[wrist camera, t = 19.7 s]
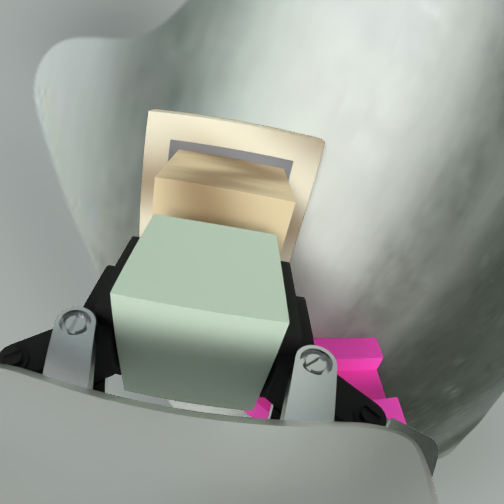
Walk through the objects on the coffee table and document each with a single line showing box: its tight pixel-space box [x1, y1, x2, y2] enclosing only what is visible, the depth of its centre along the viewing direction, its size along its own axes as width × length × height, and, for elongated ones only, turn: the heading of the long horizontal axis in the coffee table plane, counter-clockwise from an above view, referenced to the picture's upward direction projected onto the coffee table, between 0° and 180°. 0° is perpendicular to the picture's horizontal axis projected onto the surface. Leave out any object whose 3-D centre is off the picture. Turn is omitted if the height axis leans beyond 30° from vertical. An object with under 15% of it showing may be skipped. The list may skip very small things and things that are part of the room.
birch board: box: [139, 109, 325, 262], centre depth 19 cm, size 10×10×1 cm
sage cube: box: [110, 214, 289, 411], centre depth 11 cm, size 4×4×4 cm
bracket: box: [244, 338, 406, 424], centre depth 25 cm, size 12×10×10 cm
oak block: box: [152, 149, 296, 255], centre depth 17 cm, size 6×6×5 cm
